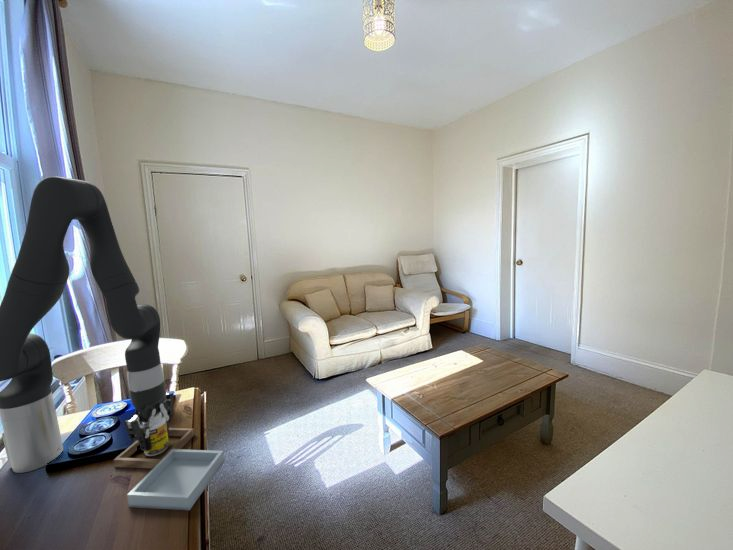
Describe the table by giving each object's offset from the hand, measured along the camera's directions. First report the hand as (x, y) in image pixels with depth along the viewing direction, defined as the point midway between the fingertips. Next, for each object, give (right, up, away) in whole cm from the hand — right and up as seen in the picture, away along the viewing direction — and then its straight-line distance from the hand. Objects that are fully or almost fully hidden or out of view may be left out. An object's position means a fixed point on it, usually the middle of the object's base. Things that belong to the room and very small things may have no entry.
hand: (155, 441), depth 83 cm
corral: (0, -3, 0) cm, 2 cm away
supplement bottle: (0, -3, 0) cm, 3 cm away
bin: (+13, -4, -11) cm, 17 cm away
